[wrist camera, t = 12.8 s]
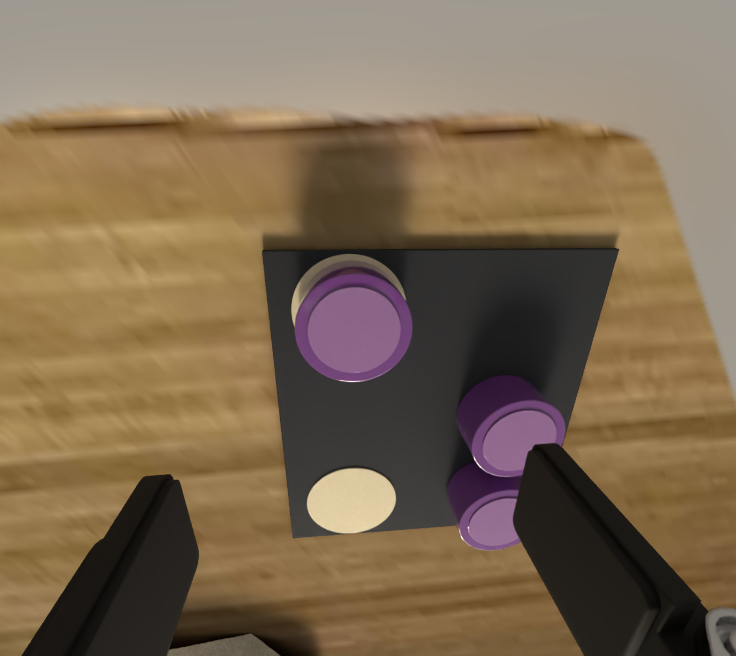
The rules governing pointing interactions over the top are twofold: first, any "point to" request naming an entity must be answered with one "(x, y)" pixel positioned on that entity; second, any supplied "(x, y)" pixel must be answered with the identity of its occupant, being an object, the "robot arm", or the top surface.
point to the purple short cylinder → (353, 322)
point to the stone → (227, 648)
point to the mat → (424, 374)
